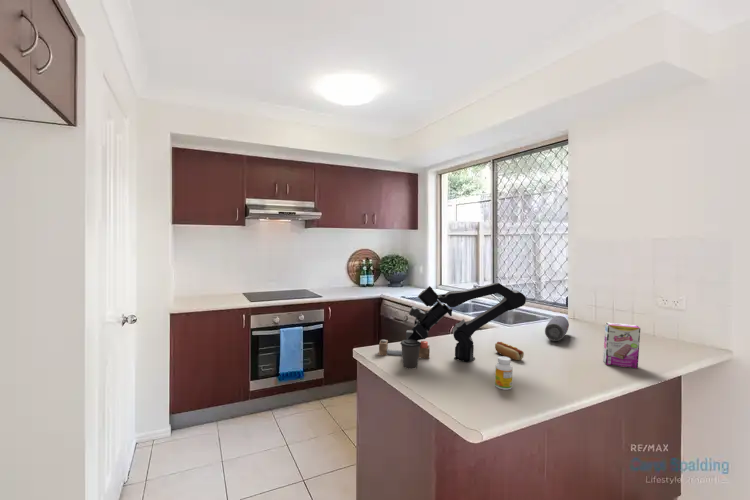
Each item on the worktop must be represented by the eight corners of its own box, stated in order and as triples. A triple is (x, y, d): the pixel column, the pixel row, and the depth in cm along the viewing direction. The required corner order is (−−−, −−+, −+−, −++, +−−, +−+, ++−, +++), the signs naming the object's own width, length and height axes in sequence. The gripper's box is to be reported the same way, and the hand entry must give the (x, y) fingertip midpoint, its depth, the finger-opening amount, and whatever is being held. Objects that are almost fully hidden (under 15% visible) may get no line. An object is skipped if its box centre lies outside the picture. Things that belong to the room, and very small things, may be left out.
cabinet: (429, 354, 155) (429, 345, 155) (429, 358, 150) (429, 349, 150) (418, 354, 156) (418, 344, 155) (418, 357, 151) (418, 348, 150)
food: (492, 352, 161) (492, 341, 160) (501, 351, 163) (502, 339, 163) (515, 362, 148) (516, 350, 148) (526, 361, 150) (526, 349, 150)
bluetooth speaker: (564, 345, 173) (565, 324, 173) (543, 341, 178) (544, 321, 178) (569, 334, 192) (570, 315, 192) (550, 332, 197) (550, 313, 197)
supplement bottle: (492, 383, 126) (493, 355, 125) (507, 383, 126) (508, 355, 126) (498, 390, 120) (499, 361, 120) (514, 390, 121) (515, 360, 120)
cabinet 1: (387, 351, 158) (387, 339, 157) (386, 355, 153) (386, 342, 152) (380, 351, 158) (380, 338, 158) (378, 355, 153) (379, 341, 153)
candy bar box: (605, 365, 146) (607, 324, 146) (602, 361, 151) (604, 321, 150) (638, 369, 143) (641, 327, 142) (634, 365, 147) (636, 324, 147)
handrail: (418, 355, 154) (418, 351, 154) (418, 356, 152) (418, 352, 152) (387, 353, 156) (387, 349, 156) (386, 354, 154) (386, 350, 154)
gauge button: (427, 350, 154) (427, 341, 154) (427, 352, 151) (427, 343, 151) (420, 350, 154) (420, 340, 154) (420, 352, 151) (420, 342, 151)
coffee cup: (419, 371, 136) (420, 344, 135) (398, 369, 137) (398, 342, 137) (421, 363, 144) (422, 338, 143) (401, 362, 145) (401, 337, 145)
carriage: (416, 353, 156) (416, 329, 156) (415, 357, 150) (416, 333, 150) (404, 352, 157) (405, 329, 157) (403, 356, 151) (404, 332, 151)
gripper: (421, 296, 161) (396, 320, 163) (420, 304, 143) (391, 330, 145) (439, 315, 160) (413, 338, 162) (440, 325, 142) (410, 352, 144)
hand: (407, 339), depth 154 cm, fingers open, 9 cm apart
